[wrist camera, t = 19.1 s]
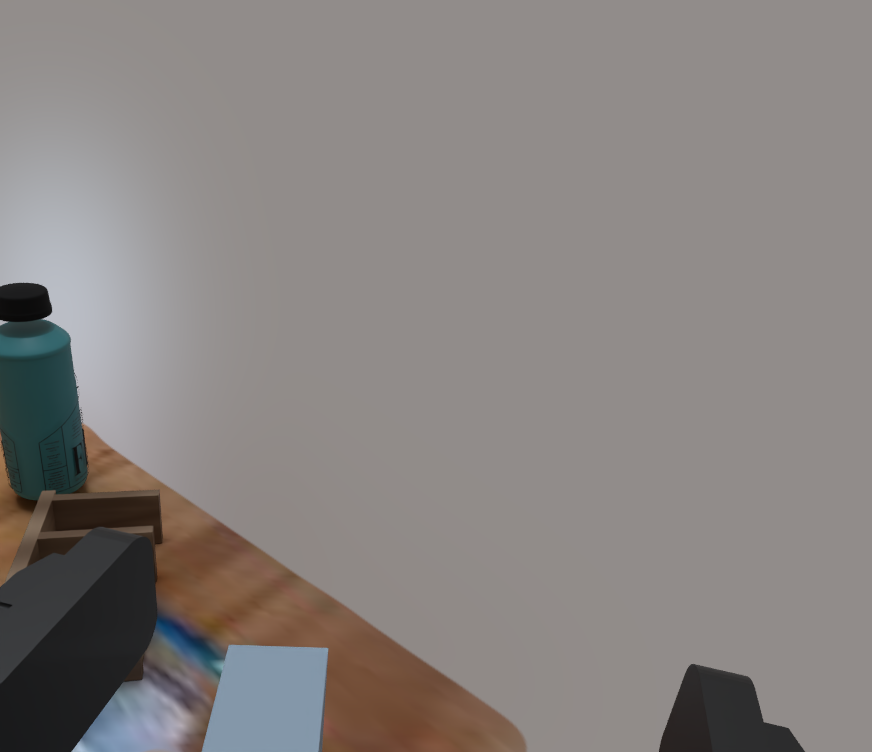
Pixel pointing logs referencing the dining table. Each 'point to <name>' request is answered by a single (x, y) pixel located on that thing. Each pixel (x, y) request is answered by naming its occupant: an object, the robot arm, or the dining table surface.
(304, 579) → the dining table surface
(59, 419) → the beverage bottle
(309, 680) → the board
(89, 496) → the rack
